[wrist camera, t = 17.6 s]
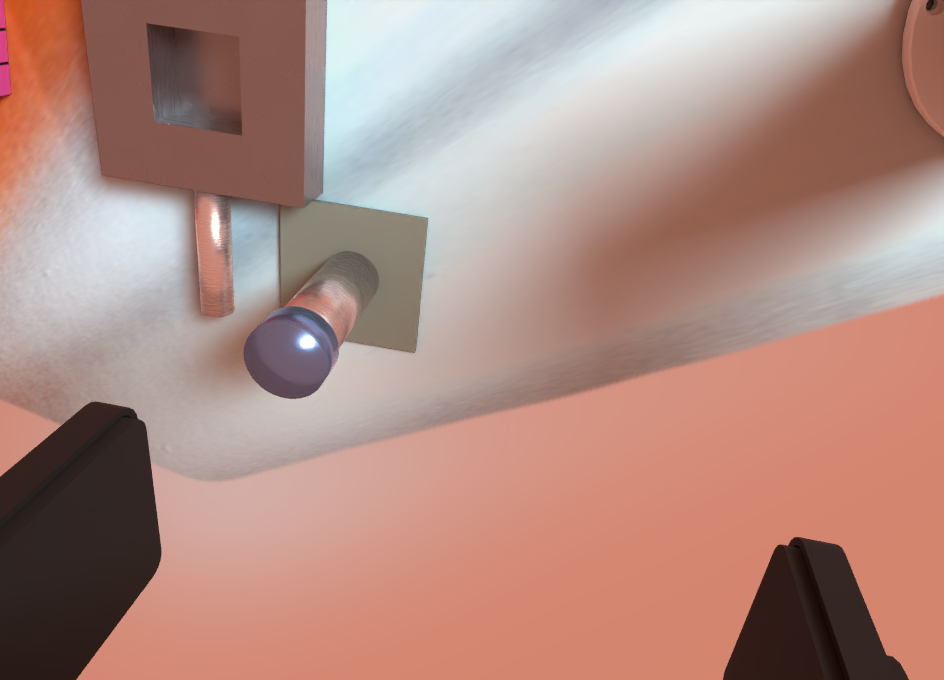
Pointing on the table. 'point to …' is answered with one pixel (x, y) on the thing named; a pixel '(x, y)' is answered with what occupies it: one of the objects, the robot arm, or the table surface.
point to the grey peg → (311, 327)
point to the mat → (378, 239)
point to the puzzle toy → (3, 56)
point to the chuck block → (211, 108)
